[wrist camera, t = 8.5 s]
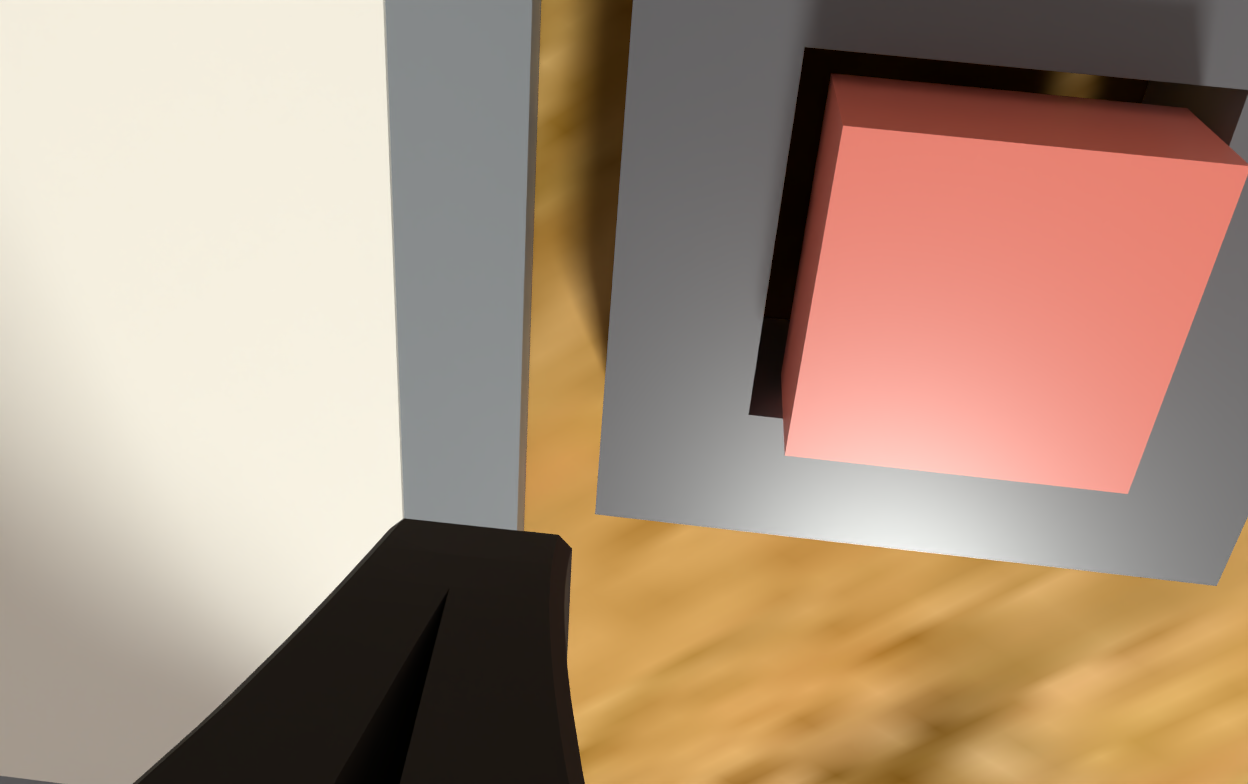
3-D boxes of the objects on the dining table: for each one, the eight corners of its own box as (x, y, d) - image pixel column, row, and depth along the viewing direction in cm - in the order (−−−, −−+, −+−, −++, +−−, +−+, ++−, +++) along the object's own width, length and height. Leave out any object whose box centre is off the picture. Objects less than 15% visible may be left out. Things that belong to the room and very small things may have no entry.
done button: (1086, 408, 16) (1127, 494, 14) (780, 374, 16) (785, 455, 14) (1186, 108, 13) (1250, 166, 12) (831, 73, 14) (842, 125, 12)
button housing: (1153, 467, 19) (1217, 586, 16) (615, 406, 19) (595, 514, 17) (1379, -121, 14) (1517, -84, 12) (662, -185, 15) (645, -162, 12)
